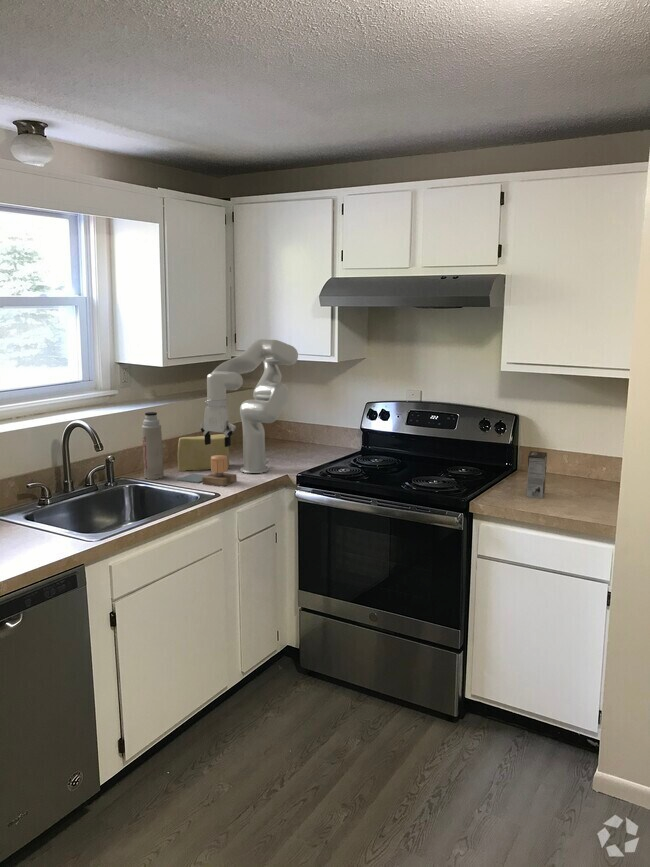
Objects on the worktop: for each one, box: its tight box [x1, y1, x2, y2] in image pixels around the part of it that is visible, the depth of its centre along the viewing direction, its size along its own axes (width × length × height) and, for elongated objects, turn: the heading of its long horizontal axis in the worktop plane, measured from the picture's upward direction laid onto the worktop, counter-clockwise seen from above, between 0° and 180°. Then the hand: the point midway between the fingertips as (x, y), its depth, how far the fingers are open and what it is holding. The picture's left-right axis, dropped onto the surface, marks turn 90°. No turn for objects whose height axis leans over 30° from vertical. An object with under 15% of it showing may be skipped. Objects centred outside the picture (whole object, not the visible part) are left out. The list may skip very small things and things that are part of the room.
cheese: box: [177, 433, 230, 472], centre depth 321 cm, size 22×10×15 cm, turn 110°
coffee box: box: [526, 450, 548, 499], centre depth 275 cm, size 9×6×16 cm
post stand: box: [202, 472, 238, 487], centre depth 297 cm, size 10×10×10 cm
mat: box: [176, 473, 208, 484], centre depth 304 cm, size 11×11×1 cm
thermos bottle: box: [141, 411, 165, 480], centre depth 305 cm, size 8×8×28 cm
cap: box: [210, 455, 229, 473], centre depth 296 cm, size 6×6×6 cm
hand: (217, 445), depth 294 cm, fingers open, 9 cm apart
